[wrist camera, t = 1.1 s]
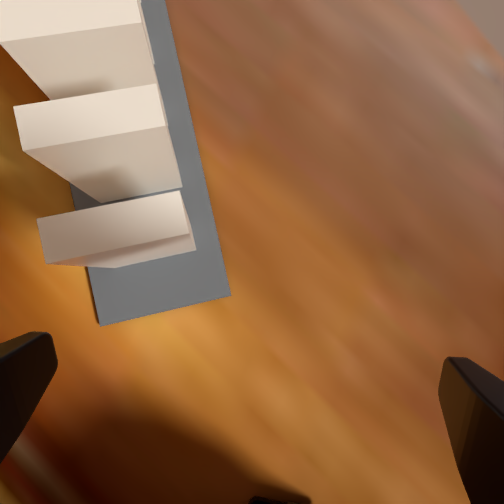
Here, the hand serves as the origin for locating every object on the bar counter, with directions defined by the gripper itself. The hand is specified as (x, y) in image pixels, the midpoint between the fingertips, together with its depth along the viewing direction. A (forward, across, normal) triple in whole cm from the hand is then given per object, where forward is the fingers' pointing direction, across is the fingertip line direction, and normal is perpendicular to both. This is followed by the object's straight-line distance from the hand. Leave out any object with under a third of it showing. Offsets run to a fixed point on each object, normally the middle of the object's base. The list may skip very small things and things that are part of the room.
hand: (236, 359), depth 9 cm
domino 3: (+17, +10, -4) cm, 20 cm away
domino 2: (+15, +8, -1) cm, 18 cm away
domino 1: (+14, +8, +3) cm, 16 cm away
